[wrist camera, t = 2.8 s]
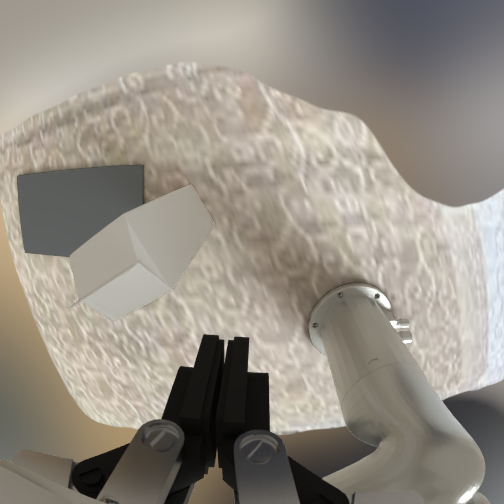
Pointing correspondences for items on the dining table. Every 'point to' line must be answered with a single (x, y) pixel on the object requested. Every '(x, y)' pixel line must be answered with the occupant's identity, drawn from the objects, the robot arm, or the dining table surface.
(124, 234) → the milk
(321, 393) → the dining table surface
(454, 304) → the dining table surface
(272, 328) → the dining table surface
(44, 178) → the mat
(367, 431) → the robot arm
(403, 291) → the dining table surface
